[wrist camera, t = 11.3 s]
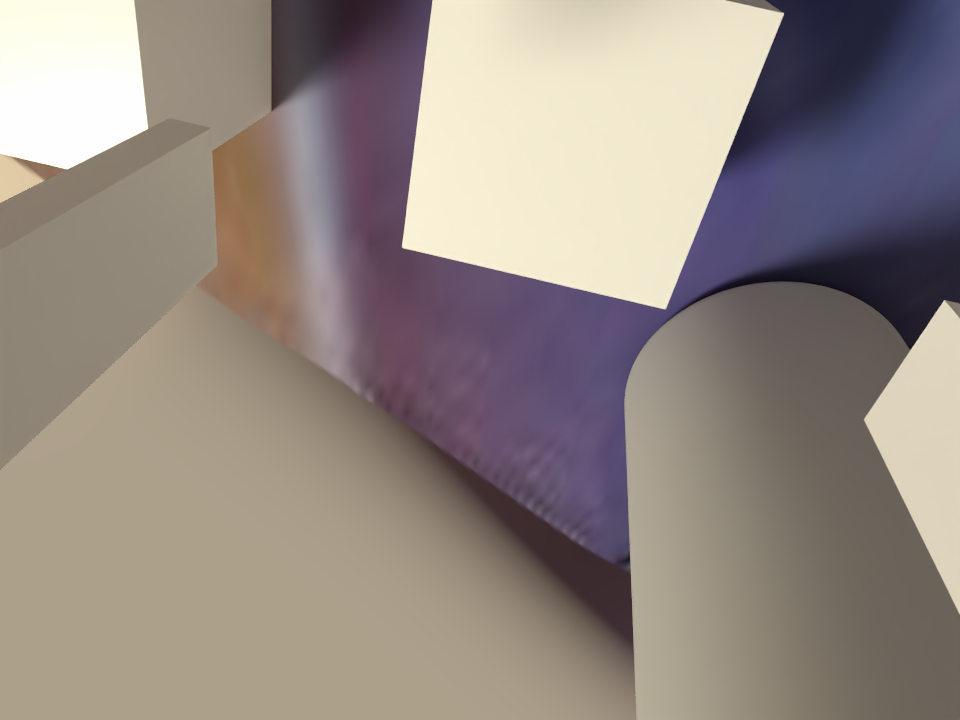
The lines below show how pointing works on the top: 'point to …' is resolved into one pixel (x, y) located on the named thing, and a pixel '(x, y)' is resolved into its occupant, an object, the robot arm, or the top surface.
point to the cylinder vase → (777, 520)
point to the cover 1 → (127, 72)
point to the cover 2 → (580, 134)
